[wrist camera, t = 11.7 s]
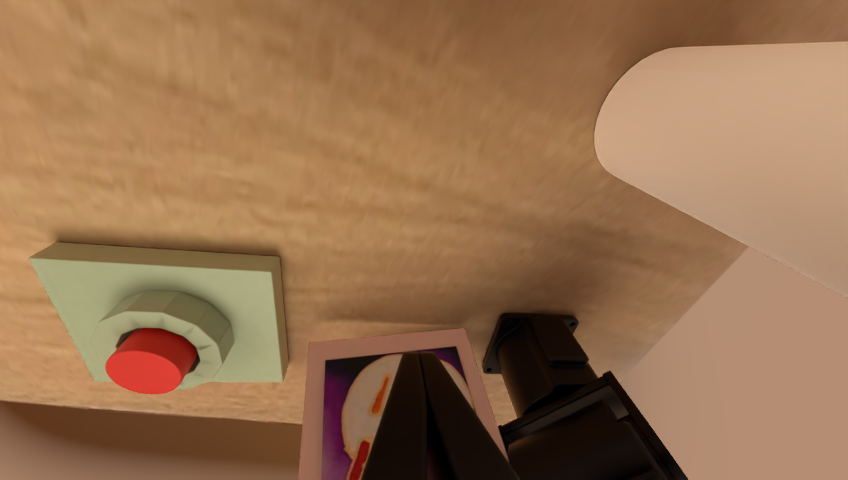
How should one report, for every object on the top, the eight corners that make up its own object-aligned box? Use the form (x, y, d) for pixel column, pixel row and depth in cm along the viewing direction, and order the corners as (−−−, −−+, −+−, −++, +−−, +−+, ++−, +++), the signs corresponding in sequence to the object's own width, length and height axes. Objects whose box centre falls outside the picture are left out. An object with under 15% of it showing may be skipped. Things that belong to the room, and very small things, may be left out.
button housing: (289, 363, 25) (275, 405, 22) (113, 361, 23) (71, 407, 20) (279, 256, 20) (261, 291, 17) (55, 241, 18) (-11, 278, 15)
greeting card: (467, 321, 24) (573, 627, 13) (448, 369, 29) (515, 623, 18) (307, 335, 21) (275, 737, 10) (316, 386, 26) (300, 697, 15)
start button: (202, 369, 20) (187, 394, 18) (137, 368, 19) (117, 394, 18) (190, 327, 18) (173, 351, 17) (119, 325, 18) (94, 350, 16)
